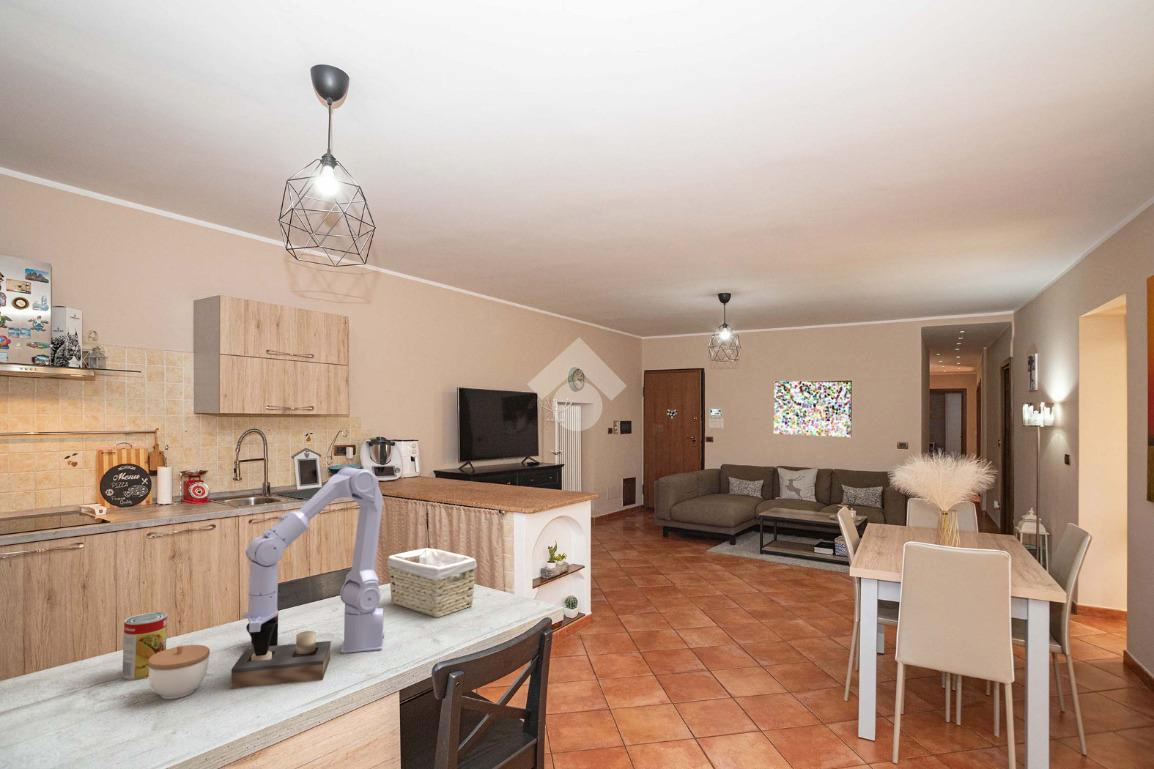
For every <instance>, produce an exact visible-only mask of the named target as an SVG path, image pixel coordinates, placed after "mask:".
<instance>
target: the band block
mask: <svg viewBox="0 0 1154 769" xmlns="http://www.w3.org/2000/svg"><path fill="white" fill-rule="evenodd" d="M331 643H332V642H331V640H326V641H316V644H315V651H313V652H311V653H307V654H298V653H296V643H292V644H291V643H290V644H282V645H281V644H280V645H277V646H269V649H268V651H271V652H272V659H270V660H259V661H251V658H252V655H253V654H254V653H255V651H254V647H246V648H245V650H244V651H243V652H242V654H240V656H239V658H238V660H236V661H235V663H234V665H233V666H232V668H230V690H231V689H233V690H234V689H240V688H241V689H242V688H251V687H252V688H253V687H262V686H272V685H281V684H282V683H283V684H291V683H300V682H312V681H321V680H324V678H325V675H326V672H327V669H328V665H329V663H330V660H331V645H332V644H331Z"/></svg>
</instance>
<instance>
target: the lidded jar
mask: <svg viewBox="0 0 1154 769" xmlns="http://www.w3.org/2000/svg"><path fill="white" fill-rule="evenodd" d="M210 651H211V650H210V648H209V647H208V646H207V645H202V644H188V645H187V644H186V645H182V644H180V645H177V646H173V647H171V648H166V650H163V651H160V652H158V653H156V654H154V655H153V656H151V657H150V658H149V660H148V666H149V678H148V680H149V685H150V687H151V688H152V690H153V691H154V692H155V694H157V695H159V696H160V698H161V697H162V699H164V700H174V699H179V698H183V697H186V696H189V695H191V694H193V693H194V692H195V691H196V689H197V688H198V687H199V686H200V684H201V683H202V682H203V680H204V679H205V678H206V675H207V671H208V667H209V662H210V657H209V656H210V654H211V653H210Z"/></svg>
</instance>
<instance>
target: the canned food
mask: <svg viewBox="0 0 1154 769" xmlns="http://www.w3.org/2000/svg"><path fill="white" fill-rule="evenodd" d="M123 622H124V623H123V647H122V648H123V649H122V671H121V672H122V674H121V678H122V679H124V680H128V681H134V680H135V681H136V679H138V680H143V678H144V679H147V678H148V677H149V666H148V660H149V658H150V657H151V656H153V655H154V654H156V653H158V652H160V651H163V650H166V649H167V637H168V636H167V635H168V634H167V633H168V632H167V631H168V630H167V628H168V613H167V612H162V611H161V612H160V611H154V612H153V611H152V612H146V613H145V612H143V613H140V614H136V615H133V616H128V618H126V619H125V620H124V621H123ZM148 679H149V678H148Z"/></svg>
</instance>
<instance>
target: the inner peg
mask: <svg viewBox="0 0 1154 769" xmlns="http://www.w3.org/2000/svg"><path fill="white" fill-rule="evenodd" d="M316 633H317V632H316V631H315V630H313V631H312V630H306V631H300V632H299V633H297V634H296V635H295V637H296V638H295V640H296V641H295V644H296V653H298V654H307V653H311V652H313V651H315V644H316V642H317V640H316V636H317V634H316Z"/></svg>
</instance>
